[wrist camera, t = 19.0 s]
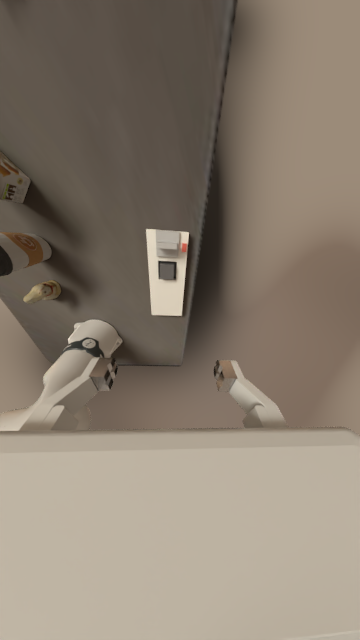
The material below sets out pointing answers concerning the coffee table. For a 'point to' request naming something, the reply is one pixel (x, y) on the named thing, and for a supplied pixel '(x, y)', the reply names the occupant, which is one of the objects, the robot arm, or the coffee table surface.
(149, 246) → the socket plate
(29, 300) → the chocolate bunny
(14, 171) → the coffee box
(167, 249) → the grey lid with handle
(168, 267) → the dark grey cube
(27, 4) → the coffee table surface
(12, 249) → the coffee cup
